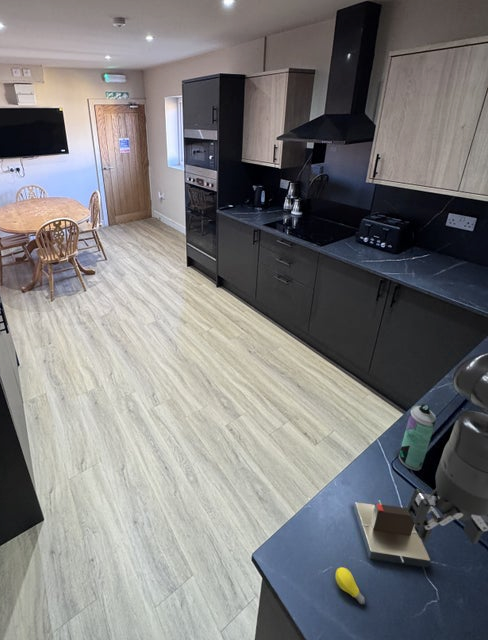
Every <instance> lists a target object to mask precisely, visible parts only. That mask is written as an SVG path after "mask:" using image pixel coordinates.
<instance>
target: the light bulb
mask: <svg viewBox="0 0 488 640" xmlns="http://www.w3.org/2000/svg"><path fill="white" fill-rule="evenodd" d="M334 575H335V581H336V584H337V585H338V587H339V589H341V590H342V591H344V592H345V593H347V594H349V595H350V596H352V598H355V599H356V600H357V602H358V603H359V604H360V605H365V603H366V600H365V596H363V594H362V593H361V592H360V589H359V587H358V585H357V583H356V580H355V578H354V576H353V574H352V572H351V571H350V570H349V569H348V568H346V567H342V566H341V567H338V568H337V569H336V571H335V574H334Z"/></svg>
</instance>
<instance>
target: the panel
mask: <svg viewBox="0 0 488 640" xmlns="http://www.w3.org/2000/svg"><path fill="white" fill-rule="evenodd" d="M378 504H381V505H383V504H382V501H381V499H378ZM374 507H375V504H373V503H365V502H357V501H355V502H354V506H353V511H354V514H355V517H356V520H357V524H358V528H359V530H360V534H361V536H362V539H363V543H364V546H365V549H366V552H367V553H366V554H367V556H368V558H369V559H370V560H371V559H372V560H375V561H376V560H377V561H383V562H390V563H396V564H403V565H407V566H408V565H409V566H415V567H421V568H427V569H428V568H429V566H430V564H431V558H430V555H429V553H428V551H427V549H426V547H425V545H424V542H423V541H422V540H421V538H419V536H418V534H417V532H416V530H415V528H414V527H413V530H412V533H411V536H409V535H403V534H396V533H389V532H382V531H376V530H373V528H372V525H371V519H372V515H373V511H374ZM414 526H415V524H414Z"/></svg>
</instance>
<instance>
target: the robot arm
mask: <svg viewBox="0 0 488 640" xmlns="http://www.w3.org/2000/svg"><path fill="white" fill-rule="evenodd" d="M452 382H453V387H454V388H455V390H456V391H457V392H458V394H459V395H460V396H461V397H463V398H464V399H466V400H467V401H468V402H470V403H471V404H472V405H474V406H475V407H477V408H478V409H480V410H481V411H482V412H481V411H477V410H464V411H461V412H460V413H459V414H457V416H456V419H455V422H454V425H453V427H452V430H451V434H450V437H449V438H448V441H447V442H446V444H445V446H444V448H443V451H442V454H441V457H440V460H439V464H438V466H437V469H436V472H435V478H434V479H435V489H434V490H433V491H432V492H431V493H424V492H423V490H422V489H421V488H414V490H413V493H412V495H411V498H410V501H409V503H408V506H407V507H406V508H407V511H408V513H409V515H410V517H411V518H412V520H413V522H414V525H415V526H414V528H415V530H416V532H417V534H418V536H419V538H421V540H422V542H423V543H428V542H429V540H430V537H431V534H432V531H433V529H434V528H435V527H437V526H438V525H439V526H441V527H445V526H446V525H447V524H449V523H451V522H452V521H462V522H463V521H465V524H464V526H463V532H464V534H465V535H466V537H467V538H468V540H469V541H470V543H471V544H478V543H479V541H480V540H481V539H482V536H483V534H484V532H487V531H488V351H487V352H483V353H481V354H478V355H475V356H472V357H470V358H468V359H466V360H465V361H463V362H462V363H461V364H459V366H457V368H456V369H455V371H454V373H453V377H452ZM435 506H436V508H437V509H438V511H439V512H440V513H441V514H442V516H440V514H439V512H437V510H436V508H435ZM428 514H430V515H431V518H430V519H429V518H428V517H427V515H428Z"/></svg>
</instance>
